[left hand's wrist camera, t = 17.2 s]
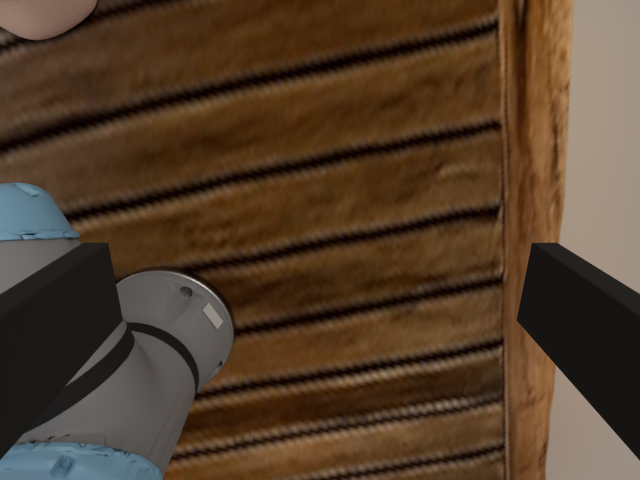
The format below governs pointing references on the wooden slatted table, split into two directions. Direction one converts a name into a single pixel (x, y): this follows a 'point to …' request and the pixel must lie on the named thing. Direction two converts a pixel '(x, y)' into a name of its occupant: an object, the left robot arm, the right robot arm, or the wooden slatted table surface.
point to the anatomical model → (43, 16)
